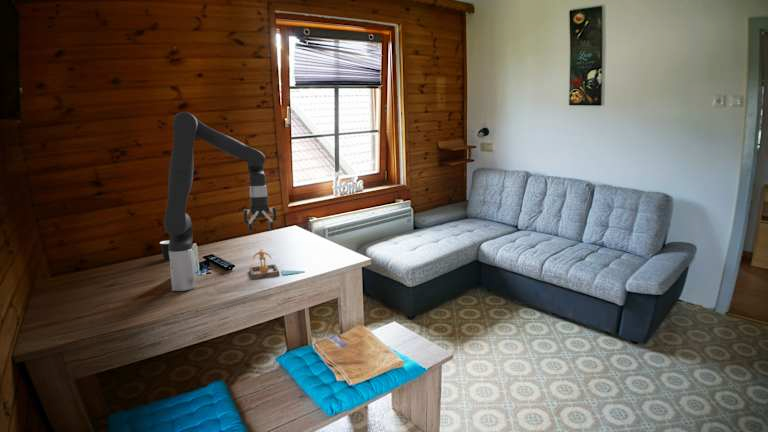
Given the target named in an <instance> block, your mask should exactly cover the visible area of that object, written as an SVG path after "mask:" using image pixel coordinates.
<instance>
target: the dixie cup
mask: <svg viewBox="0 0 768 432" xmlns="http://www.w3.org/2000/svg"><path fill="white" fill-rule="evenodd" d="M169 241H170V239H169V240H162V241H160V242H159V244H160V247H161V248H160V249H161V254H162V257H163V261H164V262H168V261H169V262H170V257H169V249H168V244H169Z"/></svg>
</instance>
